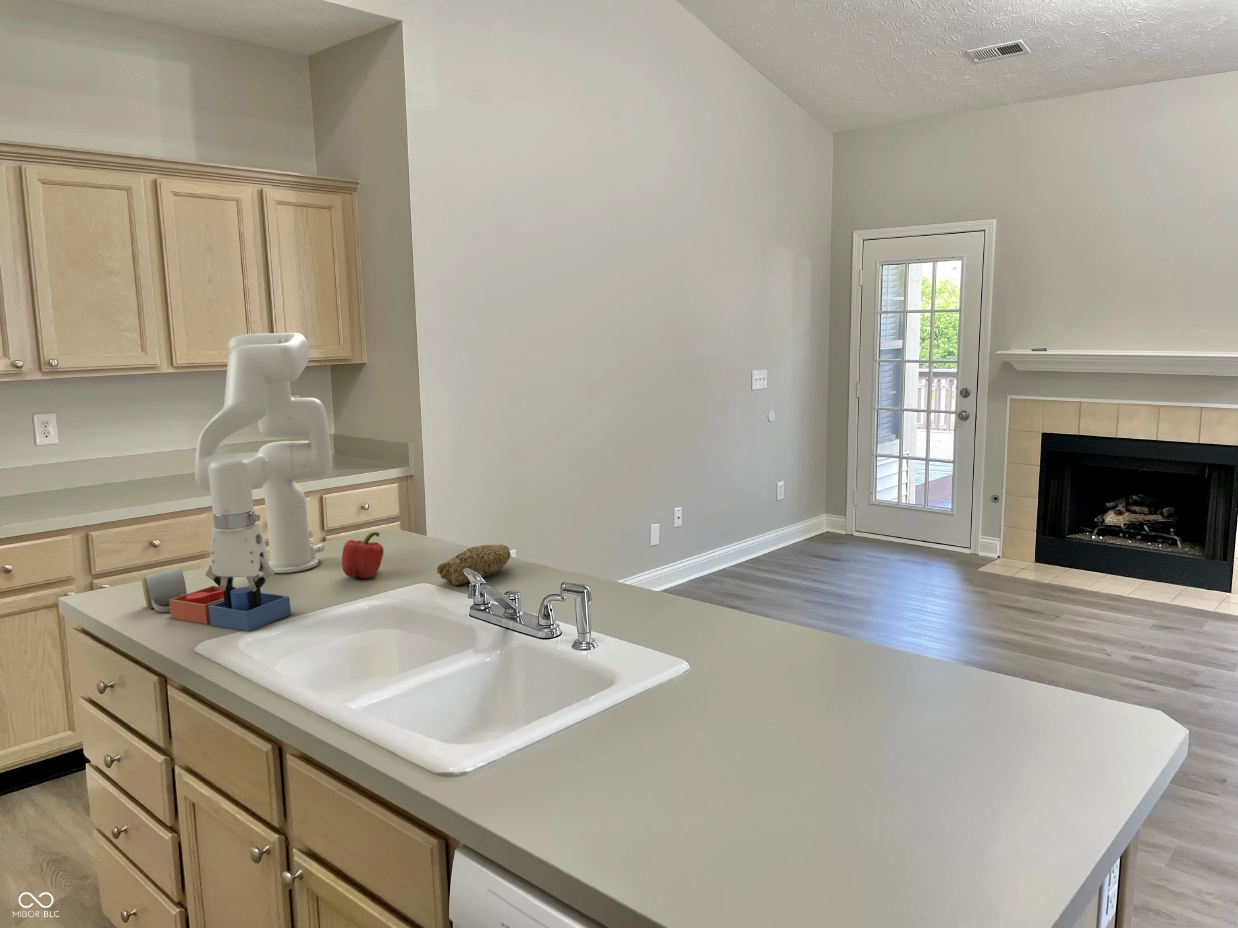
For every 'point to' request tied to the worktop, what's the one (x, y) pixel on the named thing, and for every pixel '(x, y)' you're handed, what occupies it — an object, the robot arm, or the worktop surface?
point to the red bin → (194, 607)
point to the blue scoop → (240, 598)
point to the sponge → (474, 562)
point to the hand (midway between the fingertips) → (243, 607)
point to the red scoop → (202, 597)
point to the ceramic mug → (163, 588)
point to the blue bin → (251, 613)
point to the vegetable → (362, 557)
